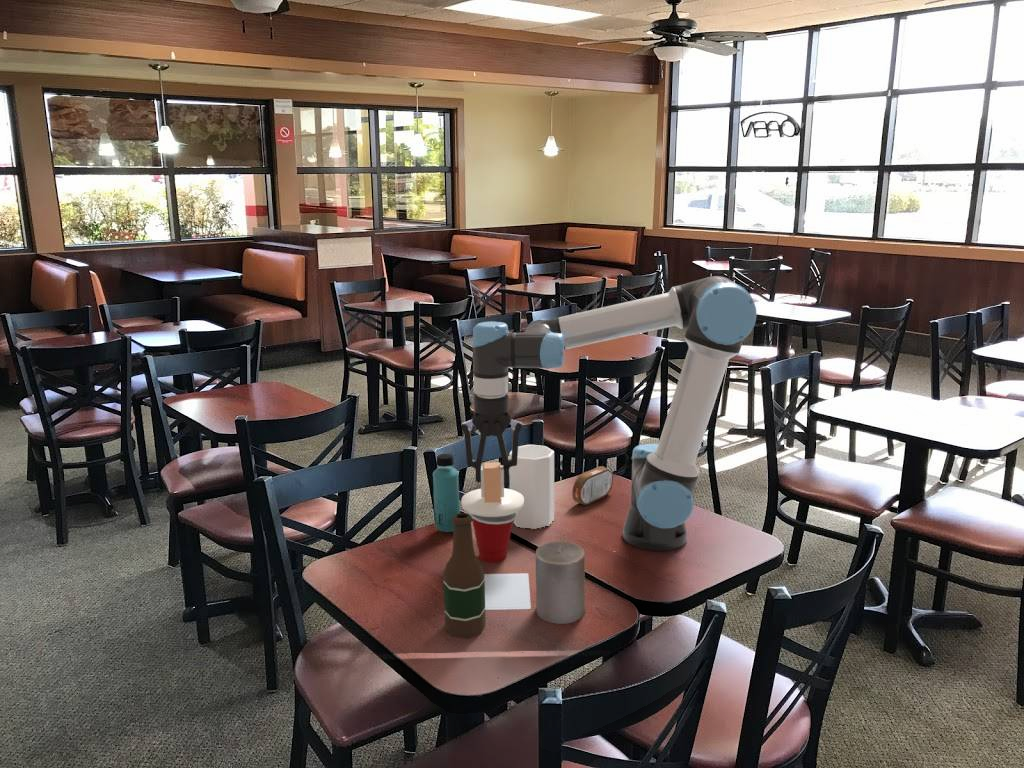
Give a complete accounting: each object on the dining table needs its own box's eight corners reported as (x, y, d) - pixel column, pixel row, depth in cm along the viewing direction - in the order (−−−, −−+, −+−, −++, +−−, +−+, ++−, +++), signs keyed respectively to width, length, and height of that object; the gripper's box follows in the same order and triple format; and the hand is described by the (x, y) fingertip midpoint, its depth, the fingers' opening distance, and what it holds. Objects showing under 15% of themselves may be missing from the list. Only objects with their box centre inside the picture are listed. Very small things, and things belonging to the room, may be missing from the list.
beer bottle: (445, 621, 161) (441, 508, 155) (484, 619, 161) (482, 506, 155) (445, 643, 153) (441, 525, 147) (486, 641, 154) (484, 523, 148)
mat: (528, 576, 178) (528, 573, 178) (530, 612, 164) (530, 608, 164) (459, 577, 178) (459, 574, 178) (456, 613, 164) (455, 610, 163)
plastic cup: (512, 572, 180) (512, 522, 177) (465, 568, 182) (463, 518, 179) (521, 550, 191) (521, 502, 188) (476, 547, 193) (475, 499, 190)
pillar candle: (559, 597, 170) (559, 530, 166) (595, 614, 163) (595, 545, 159) (525, 614, 163) (524, 546, 159) (561, 633, 156) (560, 562, 152)
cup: (563, 519, 207) (563, 450, 203) (535, 534, 199) (534, 462, 195) (529, 508, 214) (528, 441, 210) (501, 522, 206) (499, 452, 202)
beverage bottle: (465, 529, 202) (463, 452, 197) (452, 539, 197) (450, 461, 192) (442, 524, 205) (440, 449, 200) (429, 535, 199) (426, 457, 194)
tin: (605, 490, 226) (606, 461, 224) (615, 493, 224) (615, 464, 222) (571, 506, 215) (571, 476, 213) (580, 509, 213) (580, 479, 211)
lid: (523, 491, 190) (523, 454, 188) (525, 516, 176) (524, 476, 174) (462, 492, 190) (461, 455, 187) (460, 517, 176) (459, 477, 174)
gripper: (529, 388, 180) (529, 488, 186) (453, 389, 180) (456, 489, 186) (530, 398, 173) (530, 501, 179) (451, 399, 173) (454, 502, 179)
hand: (492, 494), depth 182 cm, fingers closed on lid, 4 cm apart
